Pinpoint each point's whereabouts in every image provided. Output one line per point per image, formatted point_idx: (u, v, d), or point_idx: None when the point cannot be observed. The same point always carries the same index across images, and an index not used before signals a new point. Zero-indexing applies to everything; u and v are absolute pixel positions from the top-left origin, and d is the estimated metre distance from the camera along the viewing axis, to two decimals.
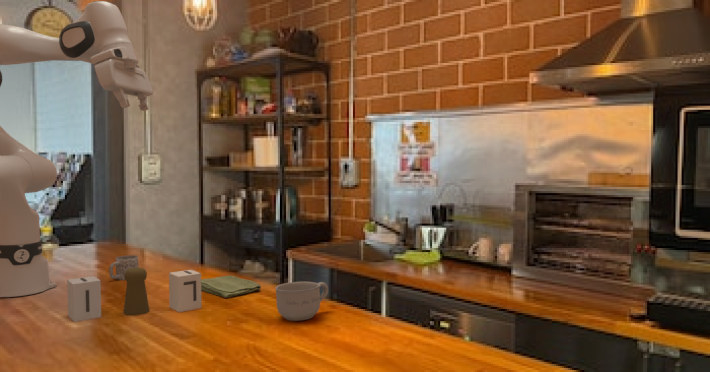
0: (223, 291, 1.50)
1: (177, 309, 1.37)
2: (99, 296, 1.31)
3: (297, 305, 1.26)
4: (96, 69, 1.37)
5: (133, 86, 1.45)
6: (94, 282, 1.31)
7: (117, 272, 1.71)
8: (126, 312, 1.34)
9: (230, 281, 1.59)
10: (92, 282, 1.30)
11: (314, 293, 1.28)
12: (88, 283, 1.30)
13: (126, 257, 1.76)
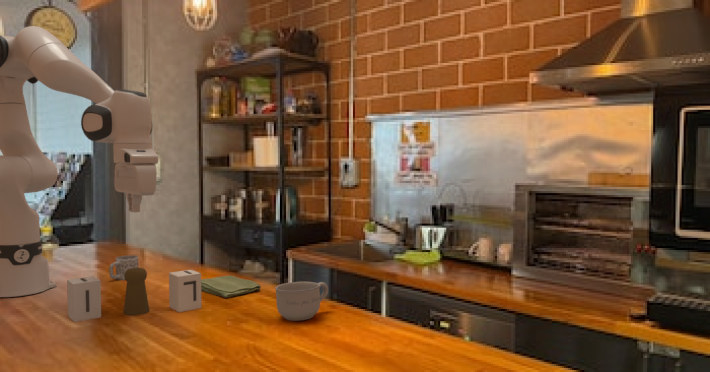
0: (223, 291, 1.50)
1: (177, 309, 1.37)
2: (99, 296, 1.31)
3: (297, 305, 1.26)
4: (139, 172, 1.26)
5: None
6: (94, 282, 1.31)
7: (117, 272, 1.71)
8: (126, 312, 1.34)
9: (230, 281, 1.59)
10: (92, 282, 1.30)
11: (314, 293, 1.28)
12: (88, 283, 1.30)
13: (126, 257, 1.76)
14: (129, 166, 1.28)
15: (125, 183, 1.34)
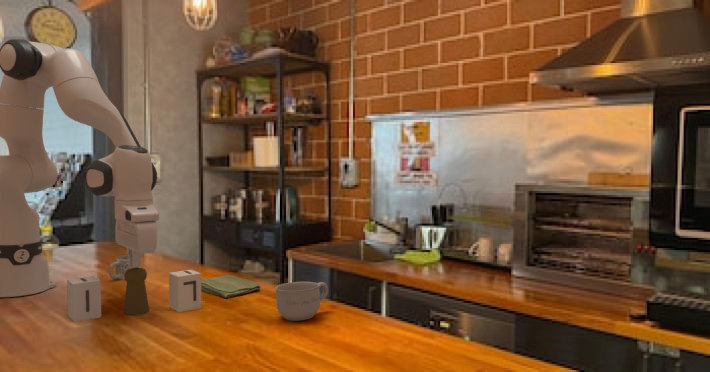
0: (223, 291, 1.50)
1: (177, 309, 1.37)
2: (99, 296, 1.31)
3: (297, 305, 1.26)
4: (140, 231, 1.27)
5: None
6: (94, 282, 1.31)
7: (117, 272, 1.71)
8: (126, 312, 1.34)
9: (229, 281, 1.59)
10: (92, 282, 1.30)
11: (314, 293, 1.28)
12: (88, 283, 1.30)
13: (126, 257, 1.76)
14: (130, 224, 1.29)
15: (126, 238, 1.35)
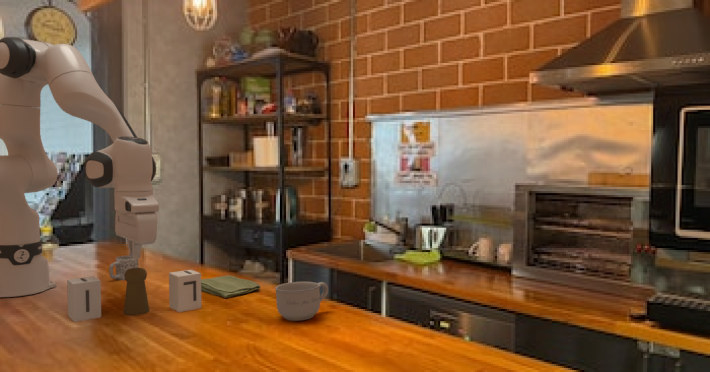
0: (223, 291, 1.50)
1: (177, 309, 1.37)
2: (99, 296, 1.31)
3: (297, 305, 1.26)
4: (140, 221, 1.27)
5: None
6: (94, 282, 1.31)
7: (117, 272, 1.71)
8: (126, 312, 1.34)
9: (229, 281, 1.59)
10: (92, 282, 1.30)
11: (314, 293, 1.28)
12: (88, 283, 1.30)
13: (126, 257, 1.76)
14: (130, 215, 1.29)
15: (125, 229, 1.35)
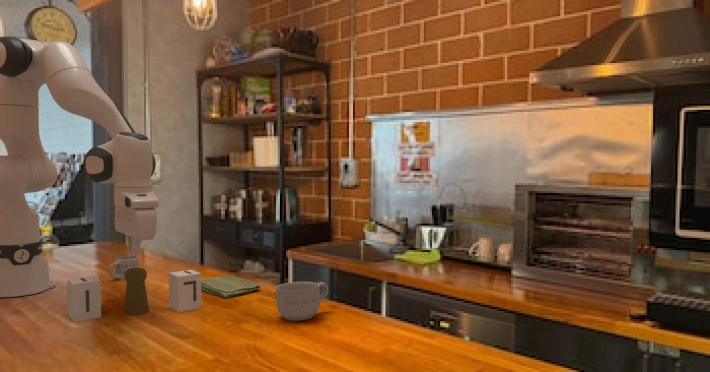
0: (223, 291, 1.50)
1: (177, 309, 1.37)
2: (99, 296, 1.31)
3: (297, 305, 1.26)
4: (139, 217, 1.27)
5: None
6: (94, 282, 1.31)
7: (117, 272, 1.71)
8: (126, 312, 1.34)
9: (229, 281, 1.59)
10: (92, 282, 1.30)
11: (314, 293, 1.28)
12: (88, 283, 1.30)
13: (126, 257, 1.76)
14: (129, 210, 1.29)
15: (125, 225, 1.35)
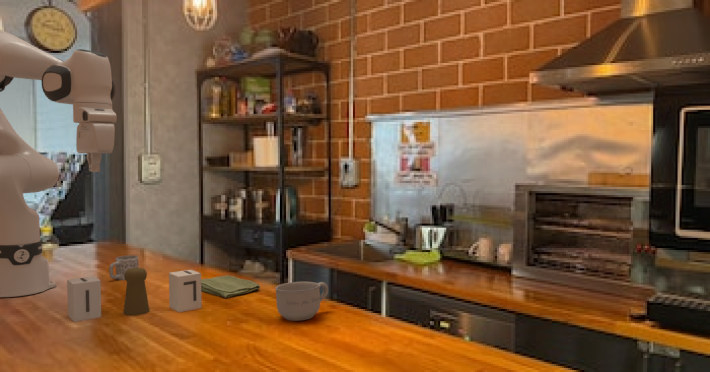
0: (222, 291, 1.50)
1: (177, 309, 1.37)
2: (99, 296, 1.31)
3: (297, 305, 1.26)
4: (96, 129, 1.27)
5: None
6: (94, 282, 1.31)
7: (117, 272, 1.71)
8: (126, 312, 1.34)
9: (229, 281, 1.59)
10: (92, 282, 1.30)
11: (314, 293, 1.28)
12: (88, 283, 1.30)
13: (126, 257, 1.76)
14: (87, 124, 1.29)
15: (85, 143, 1.35)
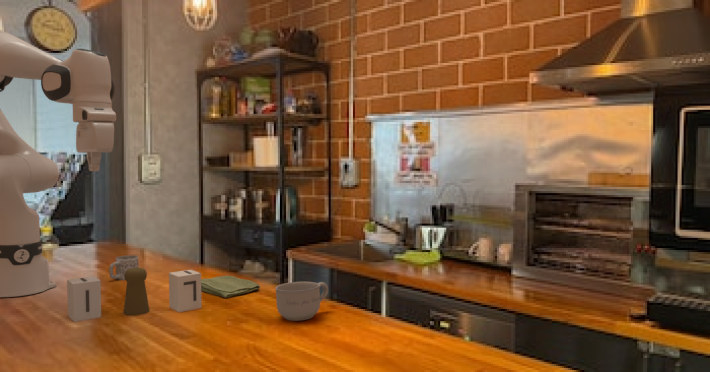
0: (222, 291, 1.50)
1: (177, 309, 1.37)
2: (99, 296, 1.31)
3: (297, 305, 1.26)
4: (96, 128, 1.27)
5: None
6: (94, 282, 1.31)
7: (117, 272, 1.71)
8: (126, 312, 1.34)
9: (229, 281, 1.59)
10: (92, 282, 1.30)
11: (314, 293, 1.28)
12: (88, 283, 1.30)
13: (126, 257, 1.76)
14: (87, 123, 1.29)
15: (84, 142, 1.35)
